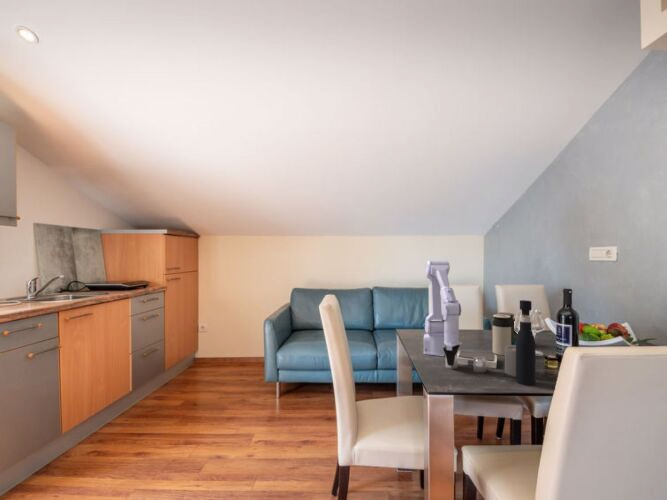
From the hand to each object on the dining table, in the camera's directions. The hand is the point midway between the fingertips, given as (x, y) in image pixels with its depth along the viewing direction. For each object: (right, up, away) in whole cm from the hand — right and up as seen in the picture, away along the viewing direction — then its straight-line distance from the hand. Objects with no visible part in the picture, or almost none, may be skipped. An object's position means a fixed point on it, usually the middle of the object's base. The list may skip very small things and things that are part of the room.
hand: (451, 363), depth 150 cm
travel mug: (+31, -2, +21) cm, 37 cm away
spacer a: (0, -1, 0) cm, 1 cm away
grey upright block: (+25, -2, -6) cm, 26 cm away
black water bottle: (+22, -2, -18) cm, 28 cm away
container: (+41, -2, +38) cm, 56 cm away
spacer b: (+10, -2, -5) cm, 11 cm away
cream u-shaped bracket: (+13, -2, +7) cm, 15 cm away
